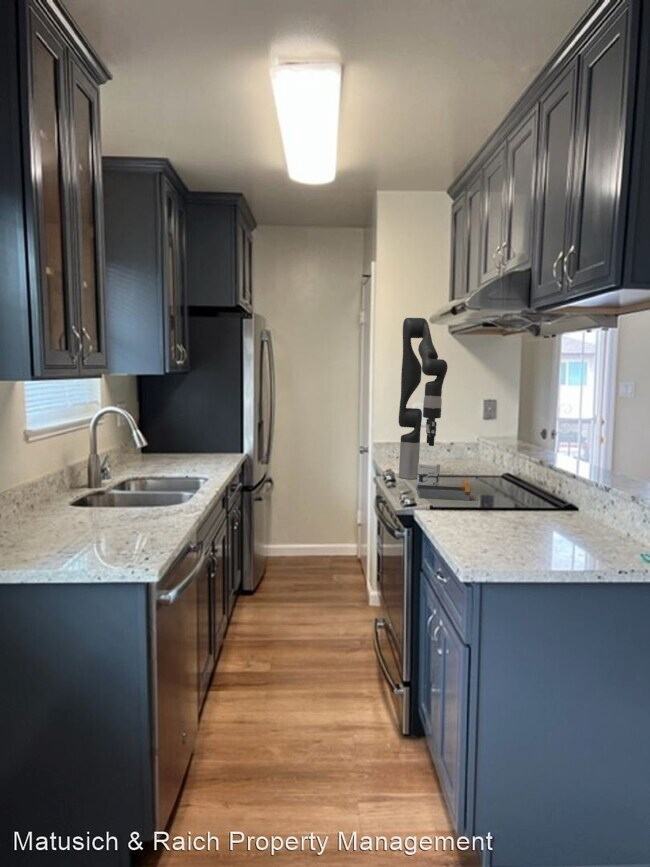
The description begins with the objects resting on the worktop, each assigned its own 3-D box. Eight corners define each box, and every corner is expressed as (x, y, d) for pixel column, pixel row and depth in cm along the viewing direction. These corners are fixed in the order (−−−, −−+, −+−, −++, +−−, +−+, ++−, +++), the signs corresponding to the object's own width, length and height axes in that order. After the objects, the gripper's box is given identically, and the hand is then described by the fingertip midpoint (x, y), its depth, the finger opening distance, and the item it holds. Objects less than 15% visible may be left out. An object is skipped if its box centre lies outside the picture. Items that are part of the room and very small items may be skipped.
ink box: (416, 490, 256) (417, 463, 255) (419, 488, 261) (421, 461, 259) (435, 492, 252) (437, 465, 251) (438, 491, 257) (440, 464, 256)
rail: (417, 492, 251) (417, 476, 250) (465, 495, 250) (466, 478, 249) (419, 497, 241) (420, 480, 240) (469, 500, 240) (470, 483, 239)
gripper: (421, 405, 260) (419, 442, 262) (425, 407, 246) (422, 446, 248) (439, 405, 259) (437, 442, 261) (443, 408, 245) (441, 447, 247)
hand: (430, 444), depth 254 cm, fingers open, 8 cm apart
